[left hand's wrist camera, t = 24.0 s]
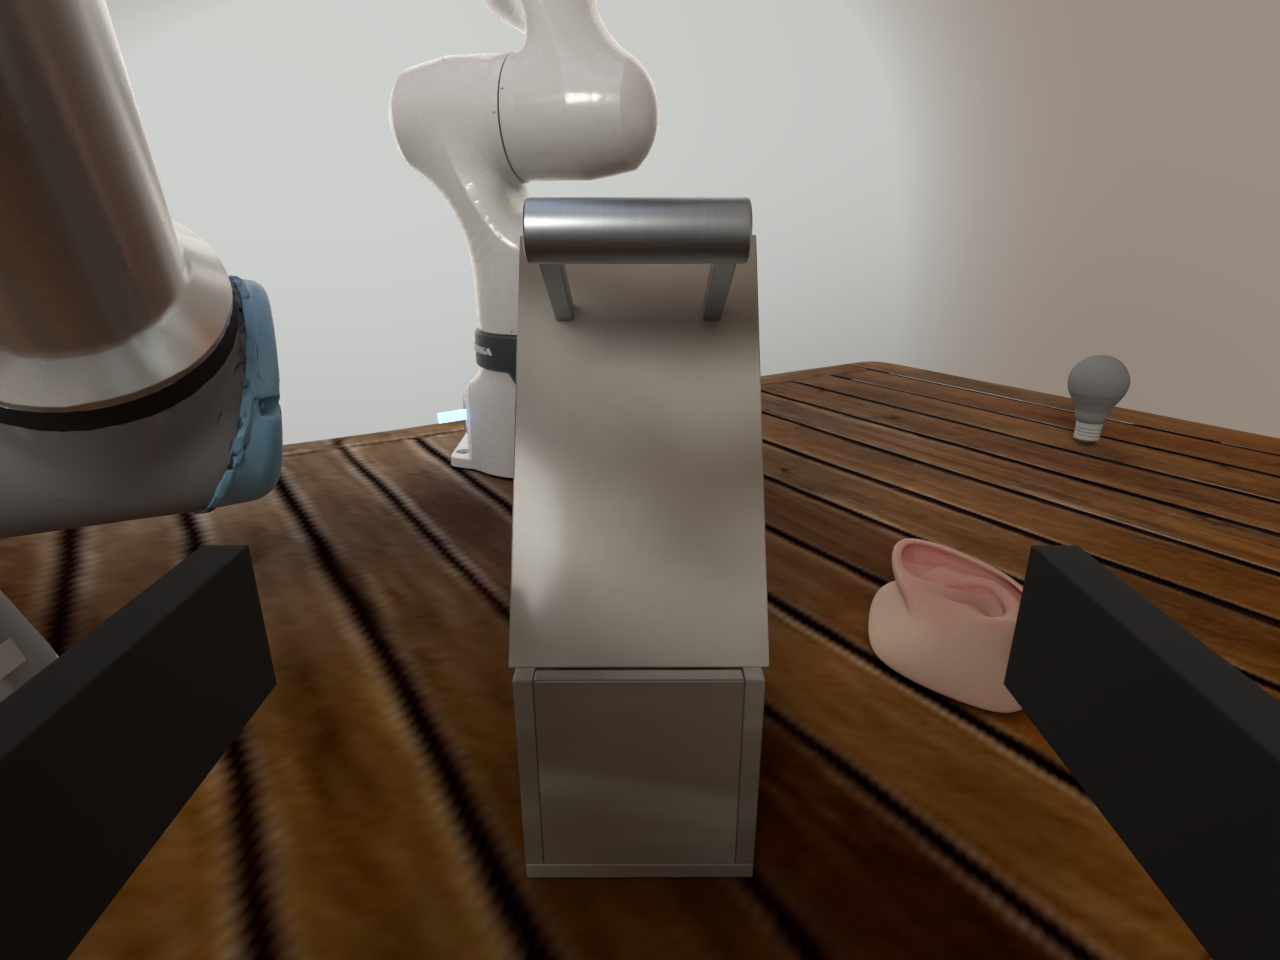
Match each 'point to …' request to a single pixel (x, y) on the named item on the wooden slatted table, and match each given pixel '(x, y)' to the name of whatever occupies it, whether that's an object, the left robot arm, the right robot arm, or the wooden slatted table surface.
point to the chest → (639, 770)
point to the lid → (638, 437)
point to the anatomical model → (947, 624)
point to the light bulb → (1096, 393)
